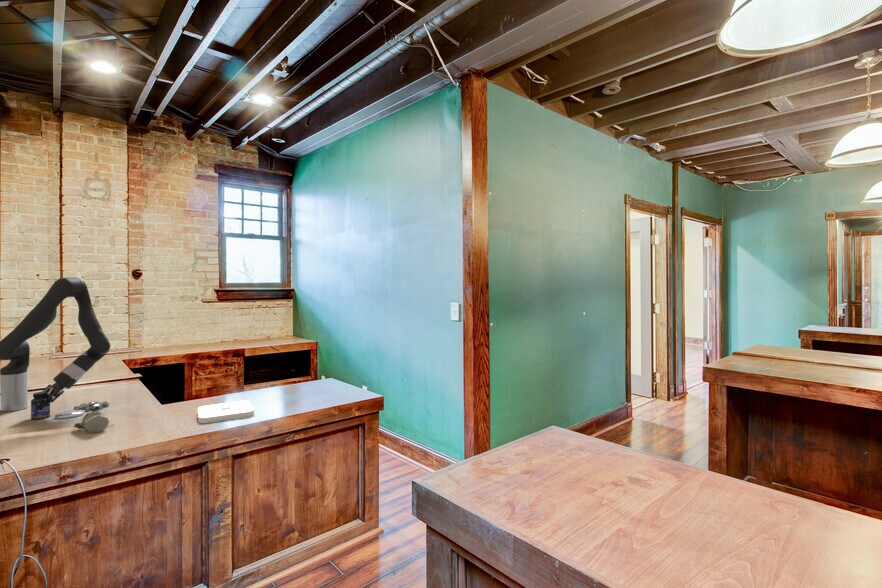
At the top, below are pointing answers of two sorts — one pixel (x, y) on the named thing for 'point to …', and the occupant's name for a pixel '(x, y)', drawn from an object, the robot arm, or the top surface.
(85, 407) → the gear
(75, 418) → the gear board
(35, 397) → the pill bottle
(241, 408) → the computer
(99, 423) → the ceramic sculpture
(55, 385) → the robot arm
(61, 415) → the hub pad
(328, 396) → the top surface
